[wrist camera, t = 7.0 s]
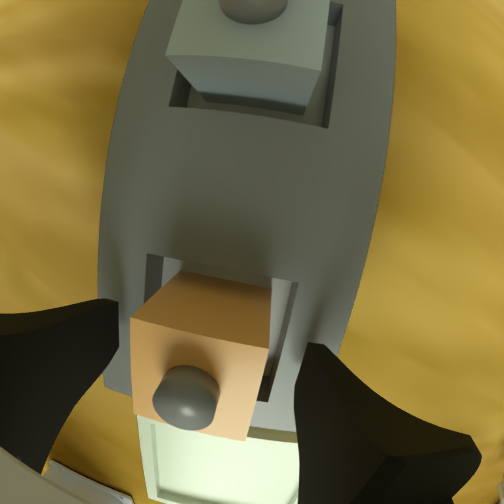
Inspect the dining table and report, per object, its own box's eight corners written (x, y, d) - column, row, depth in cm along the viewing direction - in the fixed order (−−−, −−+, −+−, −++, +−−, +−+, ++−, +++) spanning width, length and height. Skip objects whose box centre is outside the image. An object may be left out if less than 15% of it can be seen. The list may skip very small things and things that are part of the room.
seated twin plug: (206, 101, 11) (150, 40, 5) (224, 24, 10) (192, -61, 4) (303, 115, 11) (327, 55, 5) (315, 35, 10) (338, -52, 4)
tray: (152, 488, 18) (148, 498, 17) (144, 397, 15) (136, 409, 14) (289, 512, 17) (289, 523, 16) (339, 431, 15) (341, 445, 14)
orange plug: (173, 347, 14) (123, 431, 8) (180, 270, 13) (114, 332, 7) (254, 365, 14) (242, 462, 8) (271, 288, 13) (267, 369, 7)
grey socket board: (124, 362, 15) (104, 386, 12) (178, -8, 10) (163, -33, 8) (303, 402, 14) (306, 432, 12) (379, 17, 10) (395, -7, 7)
